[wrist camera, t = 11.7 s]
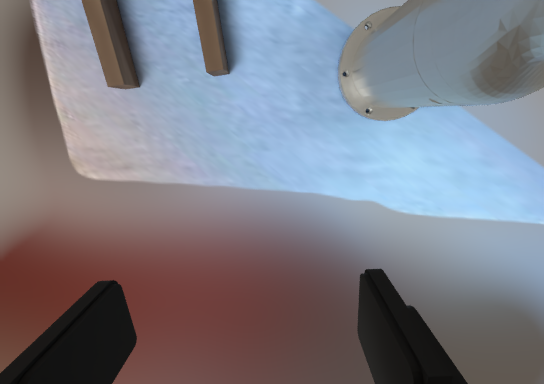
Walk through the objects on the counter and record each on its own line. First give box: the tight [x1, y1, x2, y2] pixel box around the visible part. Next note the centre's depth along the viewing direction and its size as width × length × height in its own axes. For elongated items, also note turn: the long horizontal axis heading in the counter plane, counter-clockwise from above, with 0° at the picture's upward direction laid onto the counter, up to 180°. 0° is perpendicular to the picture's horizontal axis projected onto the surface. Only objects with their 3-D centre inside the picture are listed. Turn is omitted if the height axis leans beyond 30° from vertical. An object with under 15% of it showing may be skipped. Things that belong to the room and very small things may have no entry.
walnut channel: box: [82, 0, 229, 89], centre depth 29 cm, size 14×10×4 cm
